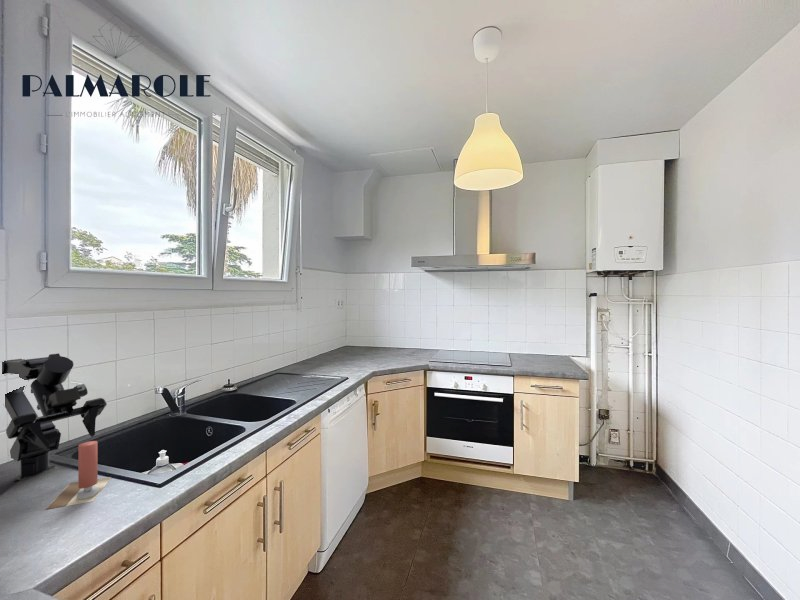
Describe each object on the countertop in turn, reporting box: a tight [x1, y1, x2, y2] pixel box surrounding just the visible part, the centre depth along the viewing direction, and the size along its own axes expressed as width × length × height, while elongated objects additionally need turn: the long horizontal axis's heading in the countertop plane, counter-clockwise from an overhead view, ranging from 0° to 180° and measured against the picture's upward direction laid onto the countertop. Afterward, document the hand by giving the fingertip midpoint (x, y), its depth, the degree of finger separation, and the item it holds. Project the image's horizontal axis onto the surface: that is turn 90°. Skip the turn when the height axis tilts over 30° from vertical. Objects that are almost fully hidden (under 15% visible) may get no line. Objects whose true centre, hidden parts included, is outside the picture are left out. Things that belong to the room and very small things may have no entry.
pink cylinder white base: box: [77, 440, 99, 500], centre depth 86 cm, size 4×4×13 cm
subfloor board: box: [44, 476, 112, 511], centre depth 88 cm, size 12×9×1 cm
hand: (71, 442), depth 89 cm, fingers open, 9 cm apart
